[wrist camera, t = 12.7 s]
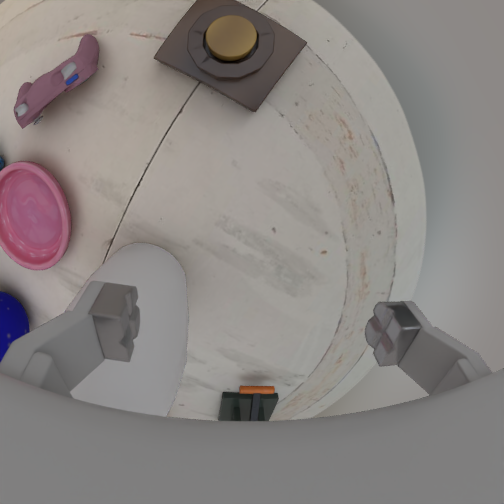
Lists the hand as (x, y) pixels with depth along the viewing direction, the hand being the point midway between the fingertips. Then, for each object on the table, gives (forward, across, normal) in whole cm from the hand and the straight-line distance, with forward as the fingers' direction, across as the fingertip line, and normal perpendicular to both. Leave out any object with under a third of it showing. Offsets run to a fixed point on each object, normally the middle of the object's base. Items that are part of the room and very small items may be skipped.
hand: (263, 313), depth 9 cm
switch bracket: (+19, -6, +38) cm, 43 cm away
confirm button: (+15, +2, -12) cm, 20 cm away
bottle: (+19, +9, +12) cm, 24 cm away
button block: (+19, +2, -12) cm, 23 cm away
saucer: (+19, +23, +5) cm, 30 cm away
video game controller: (+19, +18, -9) cm, 28 cm away
